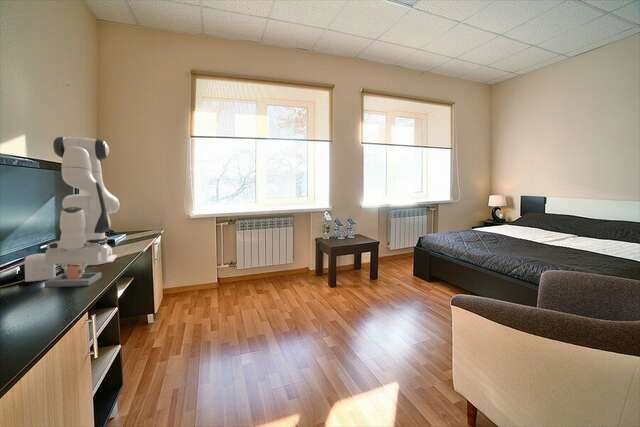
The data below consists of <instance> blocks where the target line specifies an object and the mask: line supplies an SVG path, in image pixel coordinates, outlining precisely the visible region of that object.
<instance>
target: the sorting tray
mask: <svg viewBox="0 0 640 427" xmlns="http://www.w3.org/2000/svg"><path fill="white" fill-rule="evenodd" d="M101 278H102V272H84V273H82V277H80V278H79V279H69V280H67V274H65V273H60V274H59V275H56V277H54V278H52V279H50V280H45V281H44V288H45V289H47V288H48V289H49V288H51V289H52V288H69V287H70V288H72V287H73V288H74V287H89V286H91V285H92V284H95V283H96V282H97V281H99V280H100V279H101Z"/></svg>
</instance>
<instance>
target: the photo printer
mask: <svg viewBox="0 0 640 427" xmlns="http://www.w3.org/2000/svg"><path fill="white" fill-rule="evenodd" d="M56 276H57V275H56V264H46V263H45V253H33V254H30V255H27V256H25V259H24V282H26V283H27V282H28V283H29V282H36V281H37V282H38V281H48V280H50V279H52V278H54V277H56Z"/></svg>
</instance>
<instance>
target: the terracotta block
mask: <svg viewBox="0 0 640 427" xmlns="http://www.w3.org/2000/svg"><path fill="white" fill-rule="evenodd" d="M66 266H67V280H69V279H79V278H80V277H82V273H79V269H81V268H82V267H83V266H81V264H68V265H66Z"/></svg>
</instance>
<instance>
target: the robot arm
mask: <svg viewBox="0 0 640 427" xmlns="http://www.w3.org/2000/svg"><path fill="white" fill-rule="evenodd" d="M52 148H53V152H54V153H55V155H56V156H58V157H60V158H61V159H62V160H61V176H62V180H63V182H65V183H66V184H67V185H68V186H70V187H73V188H75V189H77V190H81V191H84V192H87V193H89V194H79V193H77V194H69V195H66V196H65V197H64V198H63V200H62V203H61V206H62V208H63V209H61V212H60V218H59V219H58V229H59V230H60V232H61V233H60V236H59V237H60V238H59V240H56V241H53V242H49V243H47V244H46V250H45V263H46V264H55V265H60V267H61V268H62V269H63V271H64V272H63V274H67V266H68V265H71V264H81V266H82V268H81V269H79V273H86V272H85V269H86V267H88V266H97V265H98V266H99V265H101V264H102V265H103V264H109V263H113V262H114V261H115V260H116V258H118V255H117V254H113V248H112V246H110V245H108V240H109V237H108V236H106V233H107V231H109V230H110V229H111V226H112V225H111V224H112V223H111V218H110V216H109V214H115V213H117V212H118V211H119V209H120V206H121V204H120V201H119V199H118V198H117V197H116V196H114V195H113V194H112V193H111V192H109V191H108V189H107V188H106V186H105V184H104V180H103V173H102V171H103V170H102V165H101V161H103V160H106V159H107V158H108V157H109V154H110V148H109V146H108V143H107V142H106V141H105V140H104V139H99V138H97V139H96V138H91V137H83V136H82V137H79V136H78V137H76V136H75V137H74V136H68V137H66V136H58V137H56V138H55V139H54V140H53V144H52Z"/></svg>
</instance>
